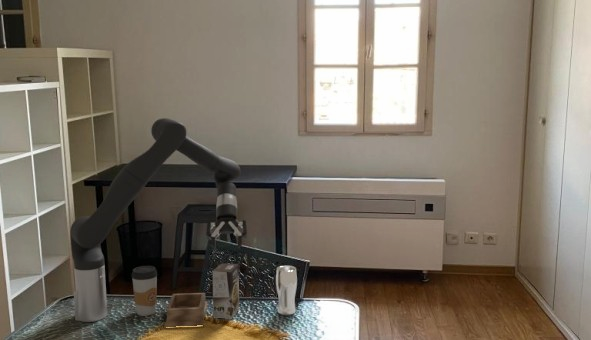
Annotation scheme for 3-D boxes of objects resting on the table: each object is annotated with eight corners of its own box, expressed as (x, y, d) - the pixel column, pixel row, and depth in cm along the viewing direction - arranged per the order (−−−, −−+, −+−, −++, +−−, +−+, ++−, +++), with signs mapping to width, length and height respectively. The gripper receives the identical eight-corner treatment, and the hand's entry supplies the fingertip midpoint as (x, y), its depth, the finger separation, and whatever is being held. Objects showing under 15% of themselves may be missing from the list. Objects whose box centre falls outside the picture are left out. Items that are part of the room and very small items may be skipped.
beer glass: (297, 307, 188) (297, 265, 186) (295, 316, 181) (295, 272, 179) (277, 307, 189) (277, 264, 187) (275, 315, 182) (274, 271, 180)
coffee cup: (143, 319, 179) (141, 274, 177) (128, 313, 184) (125, 270, 182) (164, 311, 185) (162, 268, 183) (148, 305, 190) (146, 263, 188)
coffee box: (231, 320, 178) (230, 271, 176) (212, 318, 179) (211, 270, 177) (240, 309, 187) (239, 263, 185) (222, 308, 188) (220, 262, 186)
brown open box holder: (164, 328, 172) (163, 313, 171) (172, 304, 191) (172, 290, 191) (203, 327, 173) (202, 312, 172) (207, 303, 192) (207, 289, 192)
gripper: (206, 203, 198) (205, 243, 189) (246, 202, 200) (247, 241, 190) (207, 214, 204) (206, 253, 194) (246, 213, 206) (247, 252, 196)
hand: (226, 247), depth 192 cm, fingers open, 8 cm apart
